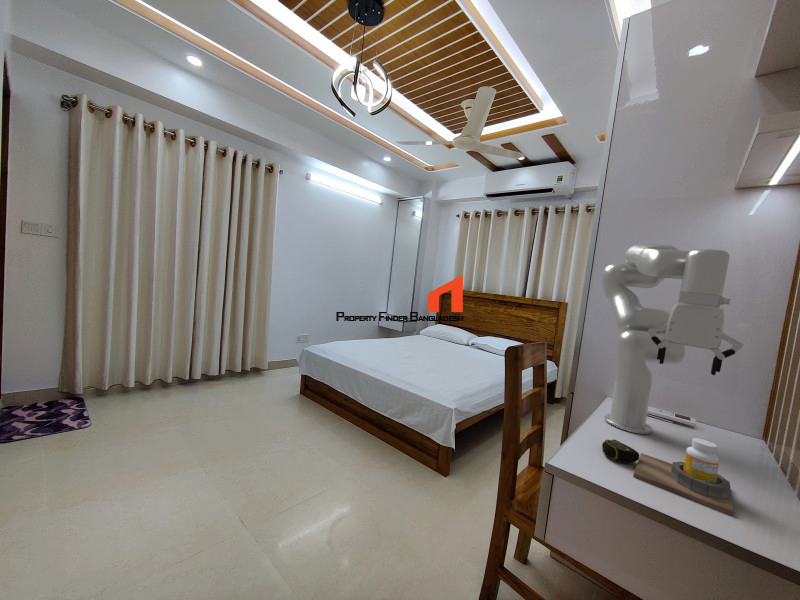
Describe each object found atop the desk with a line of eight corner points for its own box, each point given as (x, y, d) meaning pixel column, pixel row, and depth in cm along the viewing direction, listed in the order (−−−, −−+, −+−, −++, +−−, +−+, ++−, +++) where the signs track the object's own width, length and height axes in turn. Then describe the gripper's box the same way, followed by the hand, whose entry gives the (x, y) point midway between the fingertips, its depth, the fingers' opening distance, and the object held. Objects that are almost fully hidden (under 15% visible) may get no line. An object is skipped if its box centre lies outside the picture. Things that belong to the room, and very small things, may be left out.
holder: (640, 456, 84) (642, 443, 83) (727, 487, 73) (729, 473, 73) (633, 476, 73) (635, 462, 73) (732, 516, 62) (735, 499, 62)
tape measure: (639, 465, 79) (642, 451, 79) (619, 467, 77) (622, 452, 77) (614, 450, 86) (616, 437, 86) (595, 452, 84) (597, 438, 83)
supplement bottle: (684, 474, 75) (691, 434, 74) (716, 487, 71) (723, 444, 70) (679, 481, 72) (685, 439, 71) (712, 495, 67) (719, 450, 67)
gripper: (749, 305, 74) (734, 375, 76) (655, 296, 86) (644, 357, 88) (753, 306, 69) (737, 382, 70) (652, 296, 80) (641, 361, 82)
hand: (686, 368), depth 79 cm, fingers open, 9 cm apart
